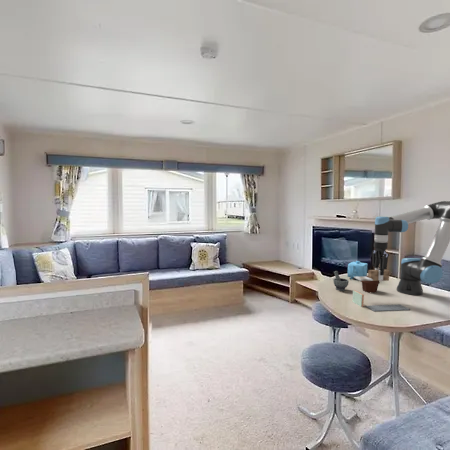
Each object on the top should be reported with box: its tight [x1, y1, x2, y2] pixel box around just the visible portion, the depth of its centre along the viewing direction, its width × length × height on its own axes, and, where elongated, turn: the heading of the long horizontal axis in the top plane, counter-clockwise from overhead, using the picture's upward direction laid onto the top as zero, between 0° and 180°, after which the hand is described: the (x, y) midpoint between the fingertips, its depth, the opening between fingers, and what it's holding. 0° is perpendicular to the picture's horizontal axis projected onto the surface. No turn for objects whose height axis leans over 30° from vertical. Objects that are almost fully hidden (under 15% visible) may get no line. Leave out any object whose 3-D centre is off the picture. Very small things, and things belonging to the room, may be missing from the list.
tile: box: [351, 290, 365, 308], centre depth 183 cm, size 1×9×7 cm, turn 8°
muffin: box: [360, 275, 381, 293], centre depth 211 cm, size 12×11×10 cm
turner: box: [353, 269, 390, 282], centre depth 192 cm, size 20×7×6 cm, turn 98°
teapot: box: [347, 260, 368, 280], centre depth 244 cm, size 22×11×14 cm, turn 142°
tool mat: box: [365, 304, 411, 312], centre depth 177 cm, size 22×8×1 cm, turn 98°
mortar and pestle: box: [332, 270, 349, 292], centre depth 213 cm, size 11×9×12 cm
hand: (378, 279), depth 193 cm, fingers closed on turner, 3 cm apart
